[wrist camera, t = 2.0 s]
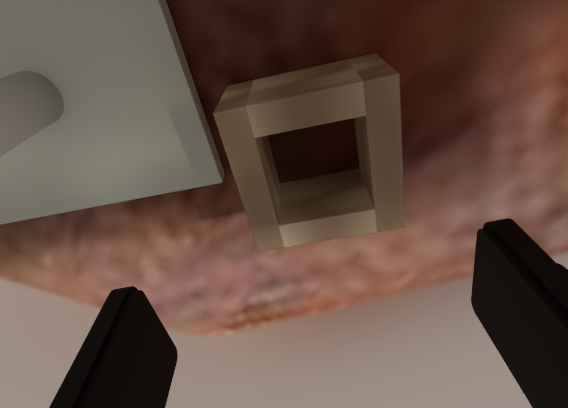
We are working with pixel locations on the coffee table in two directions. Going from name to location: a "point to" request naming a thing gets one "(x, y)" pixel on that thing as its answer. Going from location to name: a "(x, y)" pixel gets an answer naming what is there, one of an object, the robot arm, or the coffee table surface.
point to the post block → (96, 107)
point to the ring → (326, 188)
